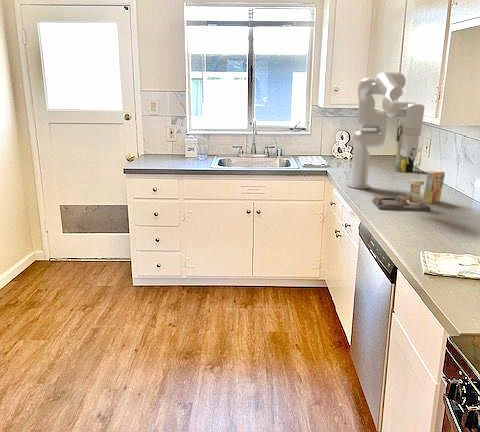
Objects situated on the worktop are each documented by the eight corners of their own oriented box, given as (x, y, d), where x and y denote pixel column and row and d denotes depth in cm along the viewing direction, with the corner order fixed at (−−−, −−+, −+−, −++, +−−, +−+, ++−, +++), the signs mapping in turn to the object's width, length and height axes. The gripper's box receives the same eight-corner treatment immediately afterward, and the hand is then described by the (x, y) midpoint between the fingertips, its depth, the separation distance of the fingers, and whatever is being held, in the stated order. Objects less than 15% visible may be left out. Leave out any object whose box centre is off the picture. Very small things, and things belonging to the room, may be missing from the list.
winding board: (372, 201, 229) (373, 192, 228) (420, 203, 229) (421, 194, 227) (379, 209, 216) (380, 200, 215) (430, 211, 215) (431, 201, 214)
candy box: (433, 199, 236) (437, 170, 232) (440, 201, 233) (445, 172, 228) (422, 201, 232) (426, 172, 227) (429, 203, 228) (434, 173, 224)
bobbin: (403, 201, 225) (406, 179, 222) (418, 202, 225) (421, 180, 222) (408, 205, 218) (411, 182, 215) (422, 205, 218) (426, 183, 215)
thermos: (389, 169, 312) (395, 117, 301) (405, 169, 313) (412, 117, 303) (395, 172, 303) (402, 118, 293) (412, 172, 305) (419, 119, 295)
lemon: (414, 174, 212) (417, 157, 210) (407, 175, 209) (410, 158, 207) (404, 171, 217) (406, 155, 214) (397, 173, 213) (399, 156, 211)
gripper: (398, 129, 215) (392, 166, 221) (409, 134, 199) (404, 174, 204) (414, 129, 215) (408, 167, 221) (427, 134, 199) (420, 175, 204)
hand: (406, 170), depth 212 cm, fingers closed on lemon, 5 cm apart
